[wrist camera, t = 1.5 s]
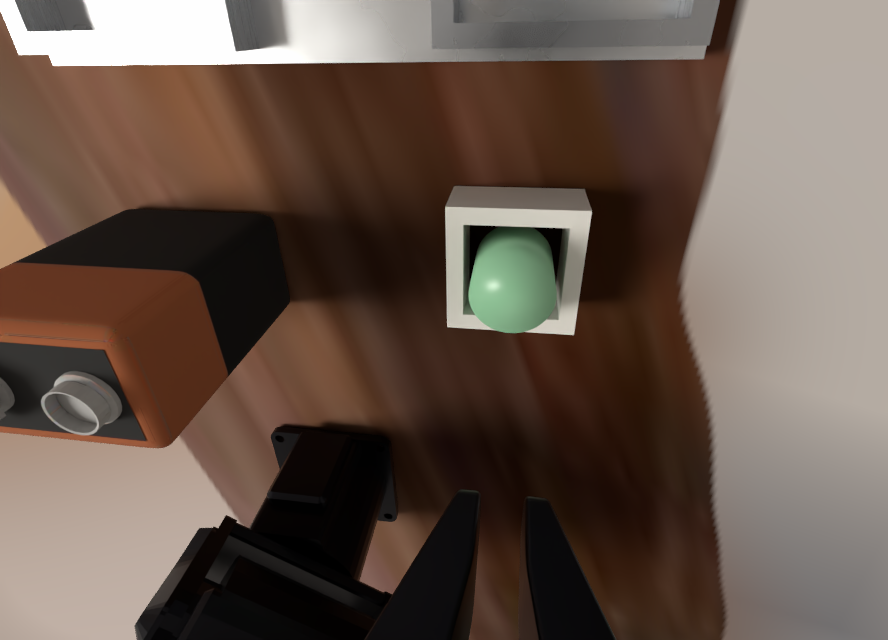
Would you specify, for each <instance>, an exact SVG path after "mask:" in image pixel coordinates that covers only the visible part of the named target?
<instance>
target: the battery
mask: <svg viewBox="0 0 888 640" xmlns="http://www.w3.org/2000/svg"><path fill="white" fill-rule="evenodd" d="M289 302H290V296H289V291H288V286H287V282H286V277H285V272H284V267H283V262H282V258H281V253H280V248H279V243H278V239H277V234H276V229H275V225H274V222H273V220H272V218H270V217H269V216H267V215H264V214H255V213H228V212H200V211H171V210H143V209H129V210H125V211H122V212H120V213H118V214H116V215H114V216H112V217H110V218H107V219H105V220H103V221H101V222H99V223H97V224H95V225H93V226H90V227H88V228H86V229H84V230H82V231H80V232H78V233H76V234H73V235H71V236H69V237H67V238H65V239H63V240H61V241H59V242H57V243H54V244H52V245H50V246H48V247H46V248H44V249H42V250H40V251H37V252H35V253H33V254H31V255H29V256H27V257H25V258H23V259H21V260H19V261H16V262H14V263H12V264H10V265H8V266H6V267H4V268H1V269H0V432H3V433H13V434H23V435H32V436H41V437H51V438H61V439H70V440H80V441H89V442H98V443H109V444H117V445H127V446H136V447H147V448H163V447H167V446H169V445H170V444H171V443H172V442H173V441H174V440H175V439H176V438H177V437H178V436H179V435H180V433H181V432H182V431H183V430H184V429H185V427H186V426H187V425H188V424H189V423H190V421H191V420H192V419H193V418H194V417H195V415H196V414H197V413H198V412H199V411H200V409H201V408H202V407H203V406H204V405H205V403H206V402H207V401H208V400H209V399H210V398H211V396H212V395H213V394H214V393H215V392H216V390H217V389H218V388H219V387H220V386H221V384H222V383H223V382H224V381H225V380H226V378H227V377H228V376H229V375H230V374H231V372H232V371H233V370H234V369H235V368H236V366H237V365H238V364H239V363H240V362H241V361H242V359H243V358H244V357H245V356H246V355H247V353H248V352H249V351H250V350H251V349H252V347H253V346H254V345H255V344H256V343H257V341H258V340H259V339H260V338H261V337H262V335H263V334H264V333H265V332H266V331H267V329H268V328H269V327H270V326H271V325H272V324H273V322H274V321H275V320H276V319H277V318H278V316H279V315H280V314H281V313H282V312H283V310H284V309H285V308H286V307H287V305H288V304H289Z"/></svg>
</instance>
